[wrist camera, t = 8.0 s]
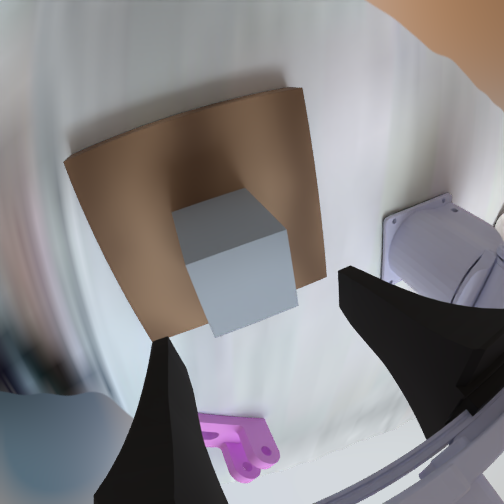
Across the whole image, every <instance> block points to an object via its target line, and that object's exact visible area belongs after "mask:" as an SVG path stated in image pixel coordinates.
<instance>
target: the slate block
mask: <svg viewBox="0 0 504 504" xmlns="http://www.w3.org/2000/svg"><path fill="white" fill-rule="evenodd" d="M172 216H173V220H174V224H175V228H176V232H177V235H178V239H179V243H180V247H181V251H182V254H183V258H184V262H185V265H186V268H187V270H188V273H189V276H190V278H191V281H192V283H193V286H194V288H195V291H196V293H197V296H198V298H199V301H200V303H201V306H202V308H203V310H204V313H205V315H206V318H207V320H208V322H209V325H210V327H211V330H212V332H213V334H214V337H215V338H216V337H219V336H222V335H224V334H227V333H230V332H233V331H235V330H238V329H241V328H243V327H246V326H248V325H251V324H254V323H256V322H259V321H261V320H264V319H266V318H269V317H272V316H274V315H277V314H279V313H282V312H284V311H287V310H289V309H291V308H294V307H296V306H298V299H297V292H296V285H295V279H294V272H293V266H292V260H291V253H290V247H289V241H288V235H287V229H286V228H285V227H284V226H283V225H282V224H281V223H280V222H279V221H278V220H277V219H276V218H275V217H274V216H273V215H272V214H271V213H270V212H269V211H268V210H267V209H266V208H265V207H264V206H263V205H262V204H261V203H260V202H259V201H258V200H257V199H256V198H255V197H254V196H253V195H252V194H251V193H250V192H249V191H248V190H247V189H246V188H243V189H239V190H236V191H233V192H230V193H227V194H224V195H221V196H218V197H215V198H212V199H209V200H206V201H203V202H200V203H197V204H194V205H191V206H188V207H185V208H182V209H179V210H177V211H174V212H172Z"/></svg>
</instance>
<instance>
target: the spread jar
mask: <svg viewBox="0 0 504 504" xmlns="http://www.w3.org/2000/svg"><path fill="white" fill-rule="evenodd" d="M495 229H496V230H497V231H498V232H499V234H500V235H501V237H502V239H503V241H504V213H503V214H502V215H501V216H500V217H499V219H498V220H497V222H496V225H495Z"/></svg>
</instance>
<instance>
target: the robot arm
mask: <svg viewBox="0 0 504 504" xmlns="http://www.w3.org/2000/svg"><path fill="white" fill-rule="evenodd" d="M393 219H394V220H393ZM401 280H403V281H404V282H405V283H407V284H408V285H409V286H410V287H411V288H412V289H414V290H415V291H416V292H417V293H418V294H416V293H413V292H410V291H408V290H405V289H403V288H400V287H398V286H395V285H393V284H395V283H397V282H399V281H401ZM338 282H339V307H340V309H341V310H342V312H343V313H344V315H345V317H346V318H347V320H348V321H349V323H350V324H351V325H352V327H353V328H354V329H355V330H356V331H357V333H358V334H359V335H360V336H361V337H362V338H363V340H364V341H365V342H366V343H367V344H368V345H369V347H370V348H371V349H372V350H373V351H374V352H375V354H376V355H377V356H378V357H379V358H380V359H381V361H382V362H383V363H384V365H385V366H386V367H387V369H388V370H389V372H390V373H391V375H392V376H393V378H394V380H395V381H396V383H397V384H398V386H399V388H400V389H401V391H402V393H403V394H404V396H405V398H406V399H407V401H408V403H409V405H410V407H411V409H412V410H413V412H414V414H415V416H416V418H417V420H418V422H419V424H420V426H421V428H422V431H423V433H424V435H425V438H426V439H427V440H426V441H425V442H423V443H422V444H420V445H419V446H417V447H416V448H414V449H413V450H411V451H410V452H408V453H407V454H405V455H404V456H402V457H401V458H399V459H398V460H396V461H394V462H393V463H391V464H389V465H388V466H386V467H384V468H383V469H381V470H379V471H378V472H376V473H374V474H372V475H371V476H369V477H367V478H365V479H363V480H361V481H359V482H358V483H356V484H354V485H352V486H350V487H348V488H346V489H344V490H342V491H340V492H338V493H336V494H333V495H331V496H329V497H327V498H325V499H323V500H320V501H318V502H316V503H313V504H356V503H358V502H360V501H362V500H364V499H366V498H368V497H369V496H371V495H373V494H375V493H377V492H378V491H380V490H382V489H384V488H385V487H387V486H388V485H390V484H392V483H394V482H395V481H397V480H399V479H400V478H401V477H403V476H405V475H406V474H408V473H409V472H411V471H412V470H414V469H415V468H417V467H418V466H420V465H421V464H423V463H424V462H426V461H427V460H428V459H430V458H431V457H432V456H434V455H435V454H437V453H438V452H439V451H441V450H442V449H443V448H445V447H446V446H447V445H448V444H449V446H448V447H447V448H446V449H445V450H444V451H443V452H441V453H440V454H439V455H438V456H437V457H435V458H434V459H433V460H432V461H431V463H430V464H429V465H428V466H427V467H426V468H425V469H424V470H423V471H422V472H421V473H420V474H419V477H420V479H421V480H420V481H418V482H417V483H415V484H414V485H412V486H411V487H409V488H408V489H406V490H404V491H403V492H401V493H400V494H398V495H396V496H394V497H393V498H391V499H390V500H388V501H386V502H385V503H383V504H504V502H503V501H502V499H501V498H500V497H499V495H498V494H497V493H496V491H495V490H494V489H493V487H492V486H491V485H490V483H489V482H488V481H487V479H486V478H485V476H484V475H483V474H482V473H483V472H484V471H485V470H486V469H487V468H488V467H489V466H490V465H491V464H492V463H493V462H494V461H495V460H496V459H497V458H498V457H499V455H501V453H502V452H503V451H504V241H503V239H502V237H501V235H500V234H499V232H498V231H497V230H496V229H495V228H494V227H493V226H492V225H490V224H489V223H487V222H485V221H484V220H482V219H480V218H479V217H477V216H475V215H473V214H472V213H470V212H468V211H466V210H464V209H463V208H461V207H459V206H457V205H455V204H453V203H452V194H450V193H446V194H443V195H441V196H438V197H436V198H433V199H431V200H428V201H426V202H423V203H421V204H418V205H416V206H413V207H411V208H408V209H405V210H403V211H400V212H398V213H395V214H393V215H390V216H388V217H386V218H385V220H384V228H383V262H382V280H381V279H379V278H377V277H375V276H373V275H370V274H368V273H366V272H364V271H362V270H359V269H357V268H355V267H353V266H348V267H346V268H344V269H341V270H339V271H338ZM94 504H228V502H227V500H226V497H225V495H224V493H223V490H222V488H221V486H220V483H219V481H218V478H217V476H216V473H215V471H214V468H213V466H212V463H211V460H210V457H209V455H208V452H207V449H206V446H205V443H204V439H203V435H202V431H201V426H200V421H199V417H198V412H197V407H196V402H195V397H194V392H193V388H192V385H191V382H190V378H189V375H188V372H187V369H186V366H185V365H184V363H183V361H182V360H181V358H180V356H179V355H178V353H177V351H176V349H175V348H174V346H173V344H172V343H171V341H170V339H169V337H168V336H167V337H164V338H161V339H158V340H155V341H153V343H152V347H151V353H150V359H149V364H148V369H147V373H146V377H145V382H144V386H143V390H142V394H141V397H140V401H139V404H138V408H137V411H136V414H135V417H134V420H133V422H132V425H131V428H130V430H129V433H128V435H127V437H126V440H125V442H124V444H123V446H122V449H121V451H120V453H119V455H118V456H117V458H116V460H115V462H114V464H113V466H112V468H111V469H110V471H109V473H108V475H107V476H106V478H105V479H104V481H103V482H102V484H101V485H100V487H99V488H98V490H97V491H96V493H95V494H94Z"/></svg>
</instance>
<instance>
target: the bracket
mask: <svg viewBox="0 0 504 504" xmlns="http://www.w3.org/2000/svg"><path fill="white" fill-rule="evenodd" d="M198 417H199V421H200V426H201V431H202V435H203V439H204V443H205V446H206V447H218V448H220V449H221V450H222V453H223V456H224V459H225V461H226V464H227V467H228V470H229V473H230V475H231V476H232V477H233V478H234V479H235V480H237V481H238V482H241V483H249V482H251V481H252V480H254V479H255V478H257V477H258V476H259V475H260V469H268V468H270V467H271V466H273V465H274V464H275V463H276V462H278V460H279V458H280V453H279V450H278V448H277V446H276V443H275V441H274V439H273V437H272V435H271V432H270V430H269V428H268V426H267V424H266V421H265V419H263V418H245V417H231V416H220V415H210V414H201V413H198ZM244 468H245V469H244Z"/></svg>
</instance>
